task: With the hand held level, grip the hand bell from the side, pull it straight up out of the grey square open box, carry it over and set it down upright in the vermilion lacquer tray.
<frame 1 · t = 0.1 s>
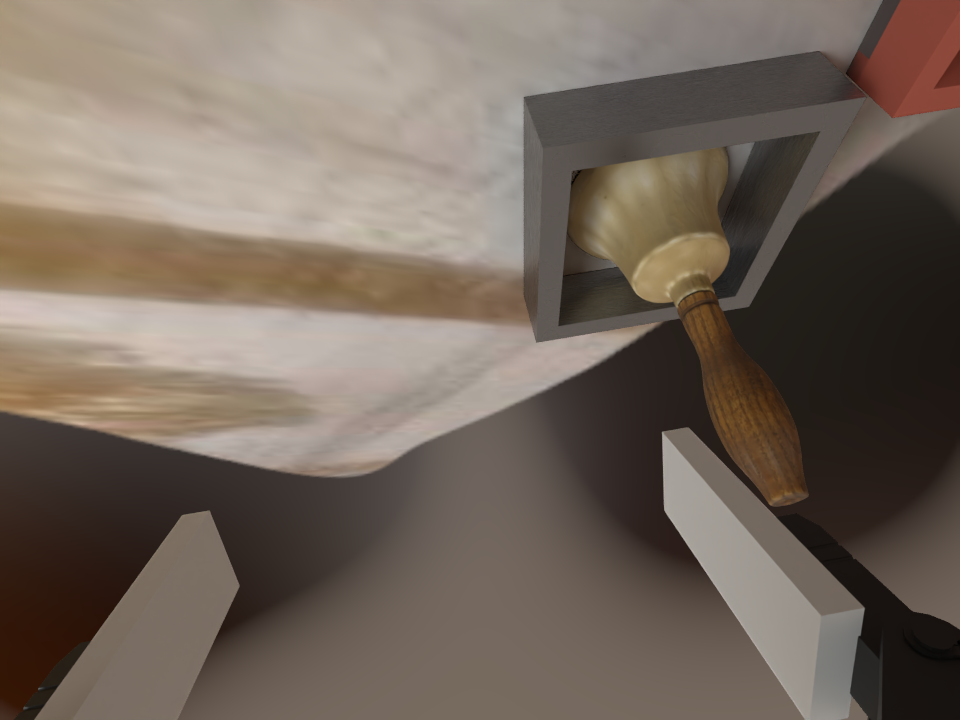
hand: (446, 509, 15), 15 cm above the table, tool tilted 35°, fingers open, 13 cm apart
hand bell: (642, 193, 27), resting in grey square open box
grey square open box: (643, 196, 27), on the table
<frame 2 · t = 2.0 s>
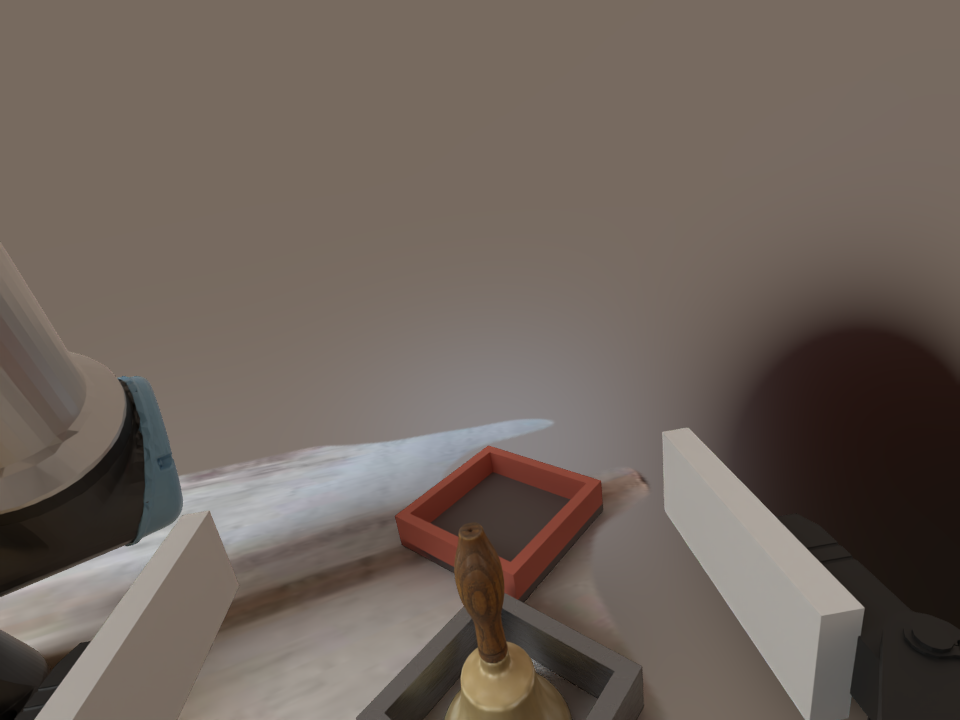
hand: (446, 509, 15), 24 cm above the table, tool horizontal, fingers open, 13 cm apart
tray: (502, 527, 51), on the table
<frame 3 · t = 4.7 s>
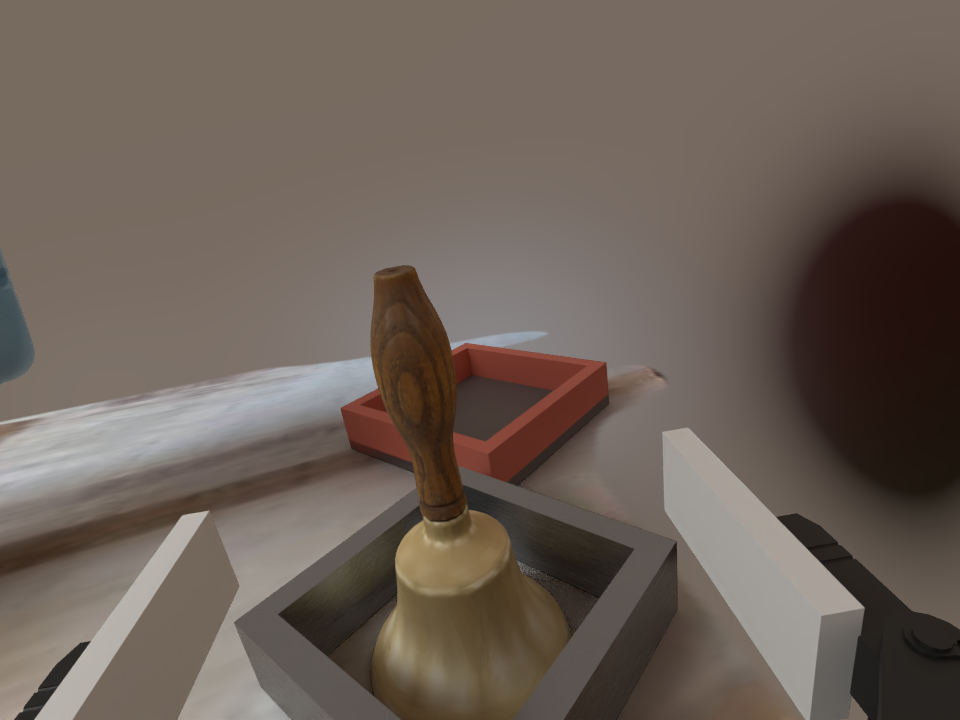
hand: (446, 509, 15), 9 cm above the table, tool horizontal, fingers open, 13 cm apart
hand bell: (472, 651, 22), resting in grey square open box
tray: (481, 425, 40), on the table
grey square open box: (471, 646, 22), on the table
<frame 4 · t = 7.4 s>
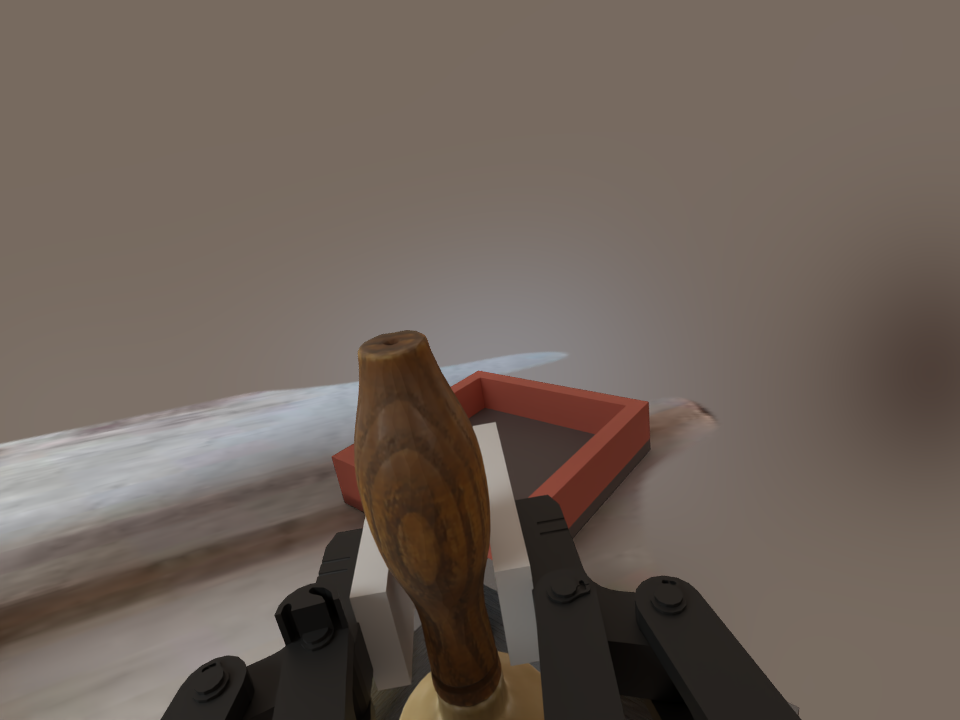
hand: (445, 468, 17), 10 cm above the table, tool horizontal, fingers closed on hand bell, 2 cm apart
tray: (498, 475, 33), on the table
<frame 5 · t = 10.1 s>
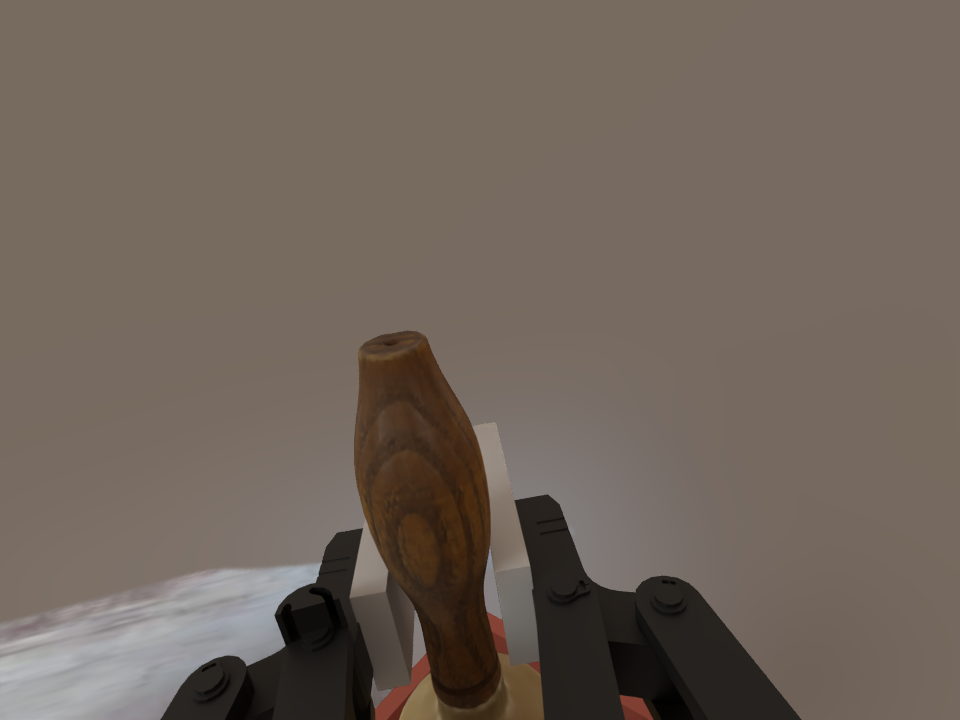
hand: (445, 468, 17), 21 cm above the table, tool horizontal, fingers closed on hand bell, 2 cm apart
when the fingers open (12 cm above the table, at t = 12.8 s): hand bell drops 1 cm, resting on tray.
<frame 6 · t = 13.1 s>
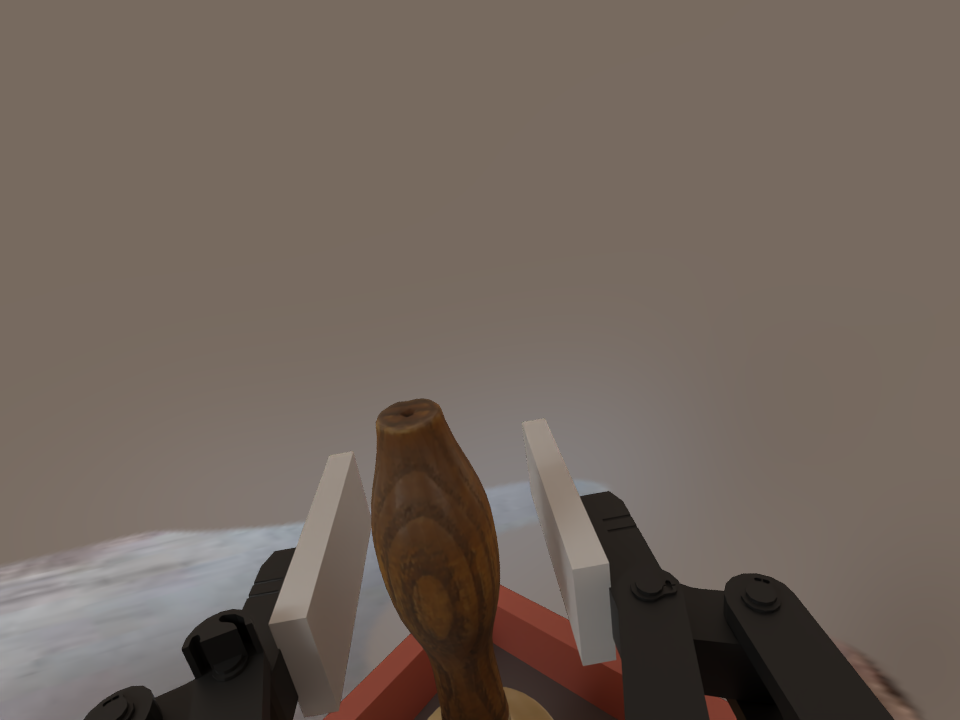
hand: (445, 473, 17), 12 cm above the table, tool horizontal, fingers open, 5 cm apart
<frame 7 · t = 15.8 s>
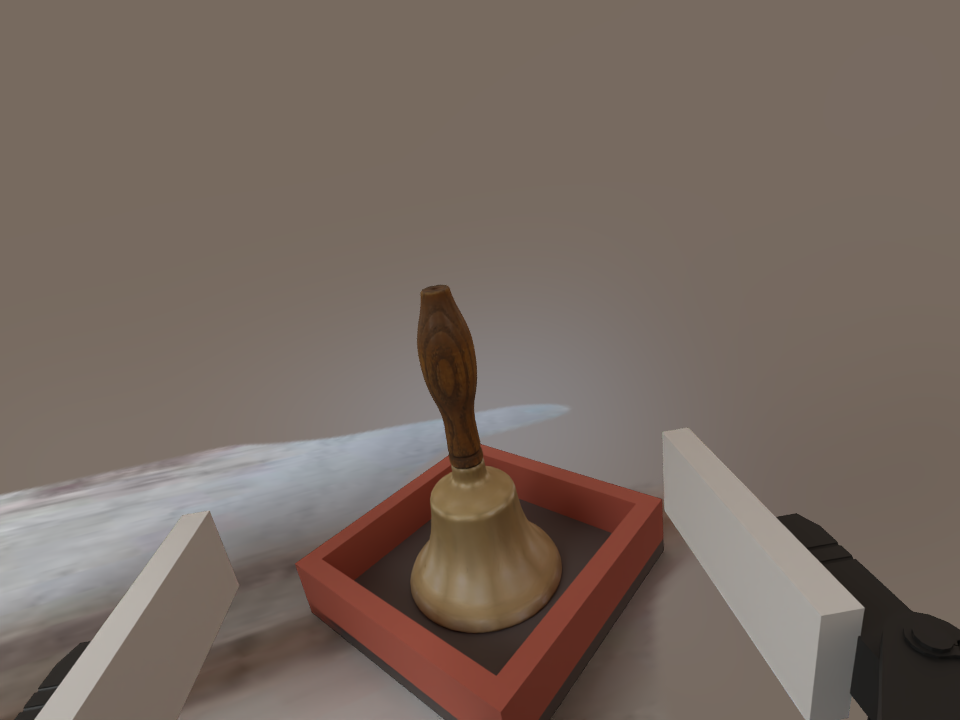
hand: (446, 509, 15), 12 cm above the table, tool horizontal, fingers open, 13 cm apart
hand bell: (486, 573, 29), point 1 cm above the table, touching tray
tray: (488, 580, 29), on the table
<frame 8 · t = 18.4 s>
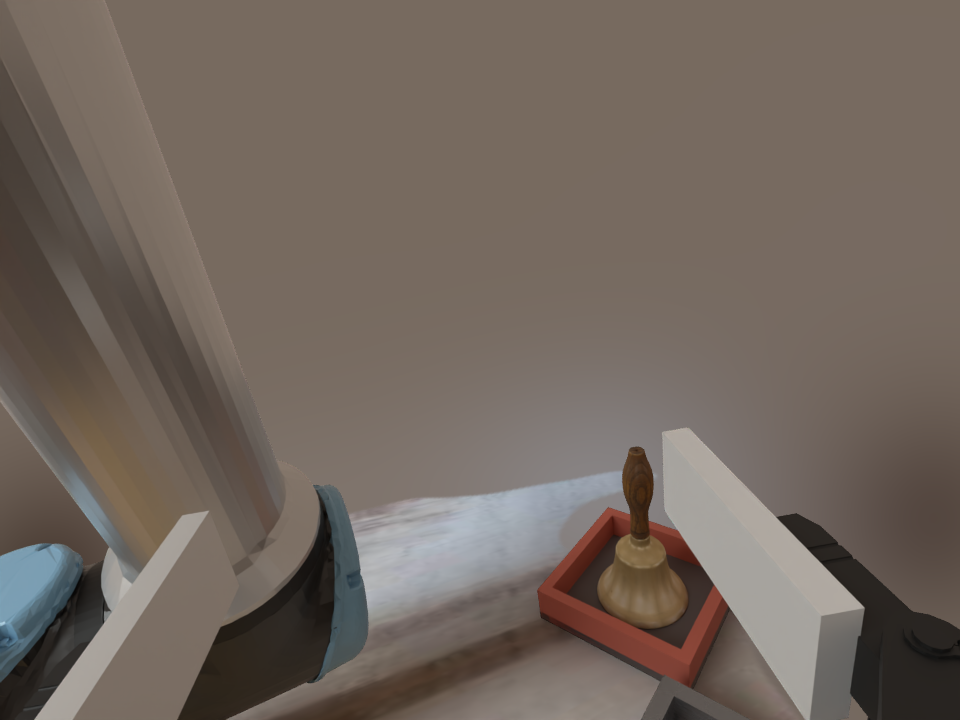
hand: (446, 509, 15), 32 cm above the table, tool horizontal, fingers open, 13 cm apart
hand bell: (641, 594, 50), point 1 cm above the table, touching tray
tray: (642, 599, 50), on the table
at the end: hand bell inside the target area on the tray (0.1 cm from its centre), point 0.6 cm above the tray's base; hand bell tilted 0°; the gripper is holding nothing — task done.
